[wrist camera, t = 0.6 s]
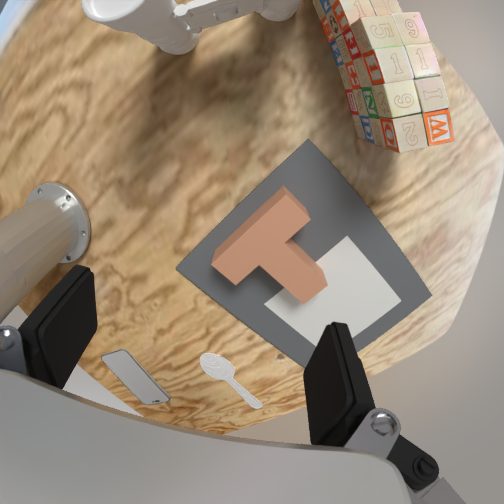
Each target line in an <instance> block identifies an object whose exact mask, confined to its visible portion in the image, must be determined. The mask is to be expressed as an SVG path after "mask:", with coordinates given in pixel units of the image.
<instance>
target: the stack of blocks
mask: <svg viewBox="0 0 504 504" xmlns="http://www.w3.org/2000/svg"><path fill="white" fill-rule="evenodd" d="M312 2H313V5H314V7H315V9H316V12H317V14H318V16H319V19H320V21H321V24H322V27H323V29H324V32H325V35H326V37H327V40H328V42H329V43H330V46H331V49H332V52H333V55H334V58H335V60H336V63H337V66H338V69H339V72H340V75H341V78H342V81H343V84H344V87H345V93H346V96H347V99H348V103H349V106H350V110H351V114H352V118H353V122H354V126H355V129H356V133H357V137H358V138H360V139H362V140H367V141H369V142H371V143H374V144H376V145H377V146H380V147H382V148H385V149H391V150H393V151H396V152H398V153H403V152H408V151H412V150H417V149H421V148H426V147H427V146H434V145H439V144H443V143H448V142H452V141H454V134H453V128H452V123H451V117H450V112H449V109H448V108H449V103H448V98H447V94H446V90H445V86H444V83H443V79H442V77H441V76H440V74H441V71H440V68H439V64H438V61H437V58H436V55H435V52H434V49H433V46H432V44H431V43H430V39H429V36H428V33H427V31H426V28H425V25H424V23H423V20H422V18H421V16H420V13H419V12H410V13H403V12H402V10H401V7H400V5H399V3H398V0H313V1H312Z"/></svg>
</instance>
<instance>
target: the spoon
mask: <svg viewBox="0 0 504 504" xmlns="http://www.w3.org/2000/svg"><path fill="white" fill-rule="evenodd" d="M200 365H201V367H202V369H203V370H204V372H205V373H206V374H208V375H209V376H211V377H212V378H215V379H218V380H225V381H227V382H228V383H229V384H230V385H231V386H232V387H233V388H234V389H235V390H236V392H238V393H239V394H240V396H241V397H242V398H244V400H245V401H246V402H247V403H249V405H250V406H251V407H253V408H255V409H256V408H261V407H262V406H263V404H262V403H261V402H260V401H259V400H258V399H256V398H255V397H254V396H253V395H252V394H251V393H249V392H248V391H247V390H246V389H245V388H243V387H242V386H241V385H240V384H239V383H238V382H237V381H235V380H234V379H233V376H234V373H235V369H234V367H233V365H232V364H231V363H230V362H229V361H228V360H226V359H225V358H223V357H221V356H219V355H216V354H213V353H205V354H203V355H202V356H201V357H200Z"/></svg>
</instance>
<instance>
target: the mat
mask: <svg viewBox="0 0 504 504" xmlns="http://www.w3.org/2000/svg"><path fill="white" fill-rule="evenodd" d="M283 185H284V186H285V187H286V188H287V189H288V191H289V192H290V193H291V194H292V195H293V196H294V197H295V198H296V199H297V200H298V201H299V202H300V203H301V204H302V205H303V206H304V207H305V208H306V210H307V212H308V214H309V217H310V219H311V220H310V221H309V222H308V223H307V224H305V225H304V226H303V227H302V228H301V229H300V230H299V231H297V232H296V233H295V234H294V235H293V236H292V237H291V239H292V240H293V241H294V242H295V243H296V244H297V245H298V246H299V247H300V248H301V249H302V250H303V251H304V252H305V253H306V254H307V255H308V256H309V257H311V258H312V259H313V260H314V261H315V262H316V263H317V264H318V265H319V266H320V267H321V268H322V270H323V272H324V275H325V278H326V281H327V284H328V286H326V287H325V288H324V289H323V290H321V291H320V292H319V293H318V294H316V295H315V296H314V297H312V298H311V299H310V300H309V301H307V302H306V303H305V304H303V303H302V302H300V301H299V300H298V299H297V298H296V297H295V296H294V295H292V294H291V293H290V292H289V291H288V290H287V289H286V288H285V287H283V286H282V285H281V284H280V283H279V282H278V281H277V280H276V279H274V278H273V277H272V276H271V275H270V274H269V273H268V272H267V271H265V270H264V269H263V268H262V267H261V266H260V265H259V266H257V267H256V268H255V269H254V270H253V271H252V272H250V273H249V274H248V275H247V276H246V277H245V278H244V279H242V280H241V281H240V282H239V283H238V284H237V285H235V284H233V283H232V282H231V281H230V280H229V279H227V278H226V277H225V276H224V275H223V274H222V273H220V272H219V271H218V270H217V269H216V268H214V267H213V266H212V265H211V263H212V259H213V256H214V252H215V250H216V249H217V248H218V247H219V246H220V245H221V244H222V243H223V242H224V241H225V240H226V239H227V238H228V237H229V236H230V235H231V234H232V233H233V232H234V231H235V230H236V229H237V228H239V227H240V226H241V225H242V224H243V223H244V222H245V221H246V220H247V219H248V218H249V217H250V216H251V215H252V214H253V213H254V212H255V211H257V210H258V209H259V208H260V207H261V206H262V205H263V204H264V203H265V202H266V201H267V200H268V199H269V198H270V197H271V196H273V195H274V194H275V193H276V192H277V191H278V190H279V189H280V188H281V187H282V186H283ZM176 269H177V270H178V271H179V272H181V273H182V274H183V275H184V276H185V277H187V278H188V279H189V280H190V281H191V282H193V283H194V284H195V285H196V286H198V287H199V288H200V289H201V290H203V291H204V292H205V293H206V294H208V295H209V296H210V297H211V298H213V299H214V300H215V301H216V302H218V303H219V304H220V305H221V306H223V307H224V308H225V309H227V310H228V311H229V312H230V313H232V314H233V315H234V316H236V317H237V318H238V319H239V320H241V321H242V322H243V323H245V324H246V325H247V326H249V327H250V328H251V329H252V330H254V331H255V332H256V333H258V334H259V335H260V336H262V337H263V338H264V339H266V340H267V341H268V342H270V343H271V344H273V345H274V346H275V347H277V348H278V349H279V350H281V351H282V352H283V353H285V354H286V355H288V356H289V357H290V358H292V359H293V360H294V361H296V362H297V363H299V364H300V365H301V366H303V367H304V368H306V366H307V364H308V362H309V360H310V358H311V356H312V354H313V352H314V350H315V348H316V346H317V344H318V342H319V340H320V338H321V336H322V333H323V331H324V329H325V327H326V325H328V324H331V323H332V322H340V323H346V324H347V325H348V328H349V331H350V333H351V336H352V340H353V343H354V346H355V349H356V352H358V351H360V350H361V349H363V348H364V347H366V346H367V345H368V344H370V343H371V342H373V341H374V340H376V339H377V338H378V337H380V336H381V335H382V334H384V333H385V332H387V331H388V330H389V329H391V328H392V327H393V326H395V325H396V324H397V323H398V322H400V321H401V320H402V319H404V318H405V317H406V316H408V315H409V314H410V313H411V312H413V311H414V310H415V309H416V308H418V307H419V306H420V305H421V304H422V303H424V302H425V301H426V300H427V299H429V298H430V297H431V296H432V294H431V293H430V291H429V290H428V288H427V287H426V285H425V284H424V282H423V281H422V279H421V278H420V276H419V275H418V273H417V272H416V270H415V269H414V268H413V266H412V265H411V263H410V262H409V260H408V259H407V258H406V256H405V255H404V253H403V252H402V251H401V249H400V248H399V247H398V245H397V244H396V243H395V241H394V240H393V238H392V237H391V236H390V234H389V233H388V232H387V231H386V229H385V228H384V227H383V225H382V224H381V223H380V221H379V220H378V219H377V218H376V216H375V215H374V214H373V213H372V211H371V210H370V209H369V208H368V206H367V205H366V204H365V203H364V201H363V200H362V199H361V198H360V196H359V195H358V194H357V193H356V192H355V190H354V189H353V188H352V187H351V186H350V185H349V183H348V182H347V181H346V180H345V179H344V178H343V176H342V175H341V174H340V173H339V172H338V171H337V169H336V168H335V167H334V166H333V165H332V164H331V163H330V162H329V160H328V159H327V158H326V157H325V156H324V155H323V154H322V153H321V152H320V151H319V149H318V148H317V147H316V146H315V145H314V144H313V143H312V142H311V141H310V140H309V139H308V140H306V141H305V142H304V143H303V144H302V145H301V146H300V147H299V148H298V149H297V150H296V151H294V152H293V153H292V154H291V155H290V156H289V157H288V158H287V159H286V160H285V161H284V162H283V163H282V164H280V165H279V166H278V167H277V168H276V169H275V170H274V171H273V172H272V173H271V174H270V175H269V176H268V177H267V178H266V179H265V180H264V181H262V182H261V183H260V184H259V185H258V186H257V187H256V188H255V189H254V190H253V191H252V192H251V193H250V194H249V195H248V196H247V197H246V198H245V199H244V200H243V201H242V202H241V203H240V204H239V205H238V206H237V207H235V208H234V209H233V210H232V211H231V212H230V213H229V214H228V215H227V216H226V217H225V218H224V219H223V220H222V221H221V222H220V223H219V224H218V225H217V226H216V227H215V228H214V229H213V230H212V231H211V232H210V233H209V234H208V235H207V236H206V237H205V238H204V239H203V240H202V241H201V242H200V243H199V244H198V245H197V246H196V247H195V248H194V249H193V250H192V251H191V252H190V253H189V254H188V255H187V256H186V257H185V259H184V260H183V261H182V262H181V263H180V264H179V265H178V266H177V267H176Z"/></svg>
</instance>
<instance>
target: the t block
mask: <svg viewBox="0 0 504 504" xmlns="http://www.w3.org/2000/svg"><path fill="white" fill-rule="evenodd" d="M310 220H311V219H310V217H309V214H308V212H307V210H306V208H305V207H304V206H303V205H302V204H301V203H300V202H299V201H298V200H297V199H296V198H295V197H294V196H293V195H292V194H291V193H290V192H289V191H288V189H287V188H286V187H285V186H284V185H283V186H282V187H281V188H280V189H279V190H278V191H277V192H276V193H275V194H274V195H273V196H271V197H270V198H269V199H268V200H267V201H266V202H265V203H264V204H263V205H262V206H261V207H260V208H259V209H258V210H257V211H255V212H254V213H253V214H252V215H251V216H250V217H249V218H248V219H247V220H246V221H245V222H244V223H243V224H242V225H241V226H240V227H239V228H237V229H236V230H235V231H234V232H233V233H232V234H231V235H230V236H229V237H228V238H227V239H226V240H225V241H224V242H223V243H222V244H221V245H220V246H219V247H218V248H217V249H216V250H215V252H214V256H213V259H212V263H211V265H212V266H213V267H214V268H216V269H217V270H218V271H219V272H220V273H222V274H223V275H224V276H225V277H226V278H227V279H229V280H230V281H231V282H232V283H233V284H235V285H237V284H238V283H239V282H240V281H241V280H242V279H244V278H245V277H246V276H247V275H248V274H249V273H250V272H252V271H253V270H254V269H255V268H256V267H257V266H259V265H260V266H261V267H262V268H263V269H264V270H265V271H267V272H268V273H269V274H270V275H271V276H272V277H273V278H274V279H276V280H277V281H278V282H279V283H280V284H281V285H282V286H283V287H285V288H286V289H287V290H288V291H289V292H290V293H291V294H292V295H294V296H295V297H296V298H297V299H298V300H299V301H300V302H302V303H303V304H305V303H306V302H307V301H309V300H310V299H311V298H312V297H314V296H315V295H316V294H318V293H319V292H320V291H321V290H323V289H324V288H325V287H326V286H328V284H327V281H326V278H325V275H324V272H323V270H322V268H321V267H320V266H319V265H318V264H317V263H316V262H315V261H314V260H313V259H312V258H311V257H309V256H308V255H307V254H306V253H305V252H304V251H303V250H302V249H301V248H300V247H299V246H298V245H297V244H296V243H295V242H294V241H293V240H292V239H291V237H292V236H293V235H294V234H295V233H296V232H297V231H299V230H300V229H301V228H302V227H303V226H304V225H305V224H307V223H308V222H309V221H310Z"/></svg>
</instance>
